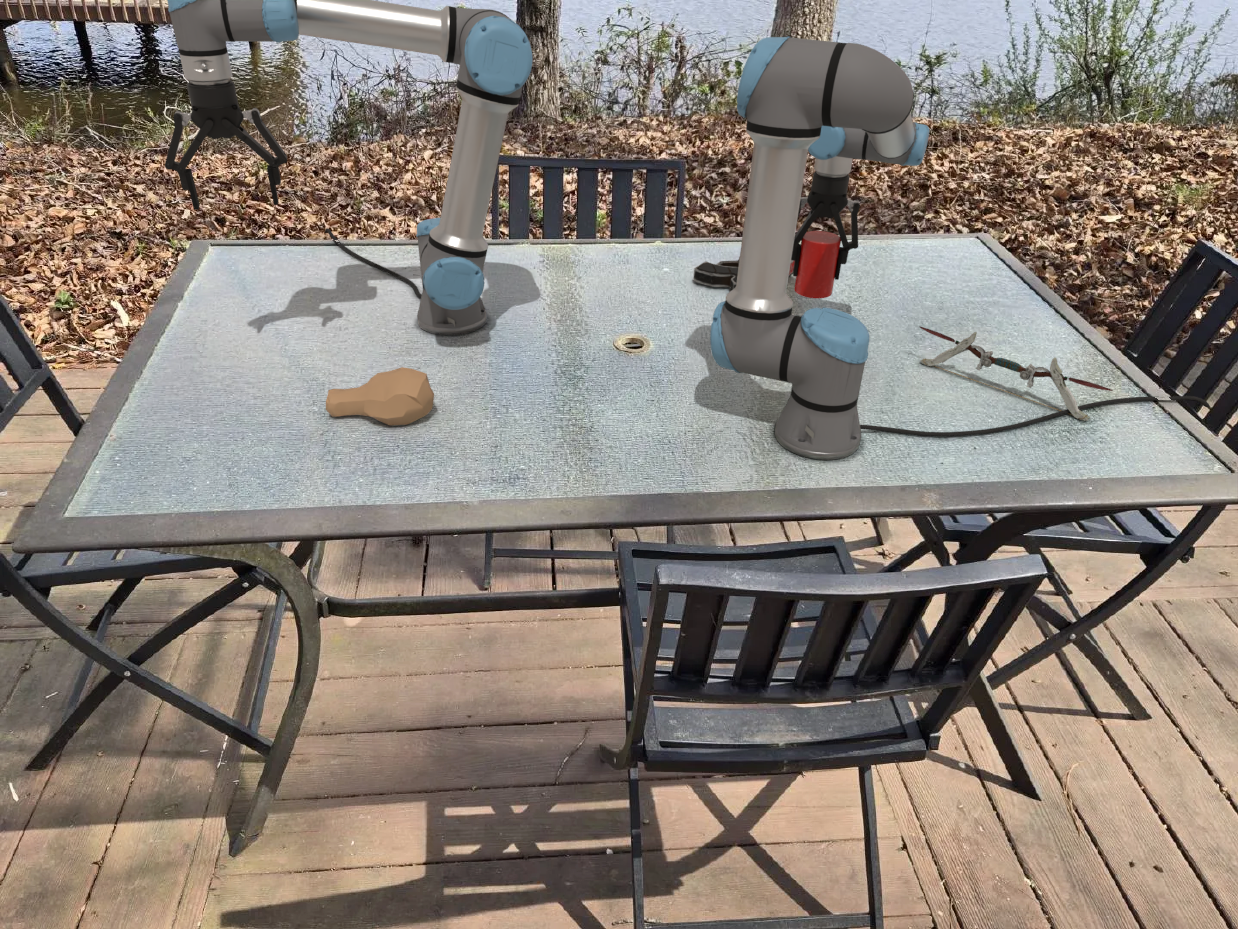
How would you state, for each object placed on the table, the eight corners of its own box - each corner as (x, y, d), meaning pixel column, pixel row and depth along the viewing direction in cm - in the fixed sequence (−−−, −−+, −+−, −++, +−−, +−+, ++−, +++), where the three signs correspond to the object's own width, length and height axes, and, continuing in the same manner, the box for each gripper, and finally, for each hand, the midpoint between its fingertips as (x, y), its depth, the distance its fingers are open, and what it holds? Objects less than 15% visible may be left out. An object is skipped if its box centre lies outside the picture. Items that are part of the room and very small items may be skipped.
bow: (1101, 423, 166) (1119, 376, 160) (1098, 427, 165) (1116, 380, 159) (913, 357, 187) (924, 314, 182) (909, 360, 186) (919, 316, 181)
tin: (802, 281, 202) (809, 228, 195) (837, 289, 199) (846, 235, 192) (788, 293, 196) (796, 238, 189) (824, 301, 193) (833, 246, 186)
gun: (689, 269, 215) (762, 288, 207) (741, 232, 237) (809, 248, 229) (687, 286, 217) (759, 305, 209) (739, 248, 239) (806, 264, 231)
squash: (434, 432, 158) (421, 393, 152) (327, 440, 160) (310, 402, 153) (443, 394, 166) (431, 355, 160) (341, 402, 167) (325, 364, 161)
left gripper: (125, 87, 142) (160, 216, 154) (286, 82, 149) (308, 206, 161) (132, 78, 148) (165, 203, 160) (287, 74, 155) (308, 194, 167)
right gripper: (882, 170, 185) (862, 273, 197) (780, 164, 187) (767, 265, 200) (885, 180, 179) (865, 285, 191) (780, 174, 181) (767, 278, 194)
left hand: (237, 205), depth 160 cm, fingers open, 13 cm apart
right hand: (815, 275), depth 195 cm, fingers closed on tin, 8 cm apart
